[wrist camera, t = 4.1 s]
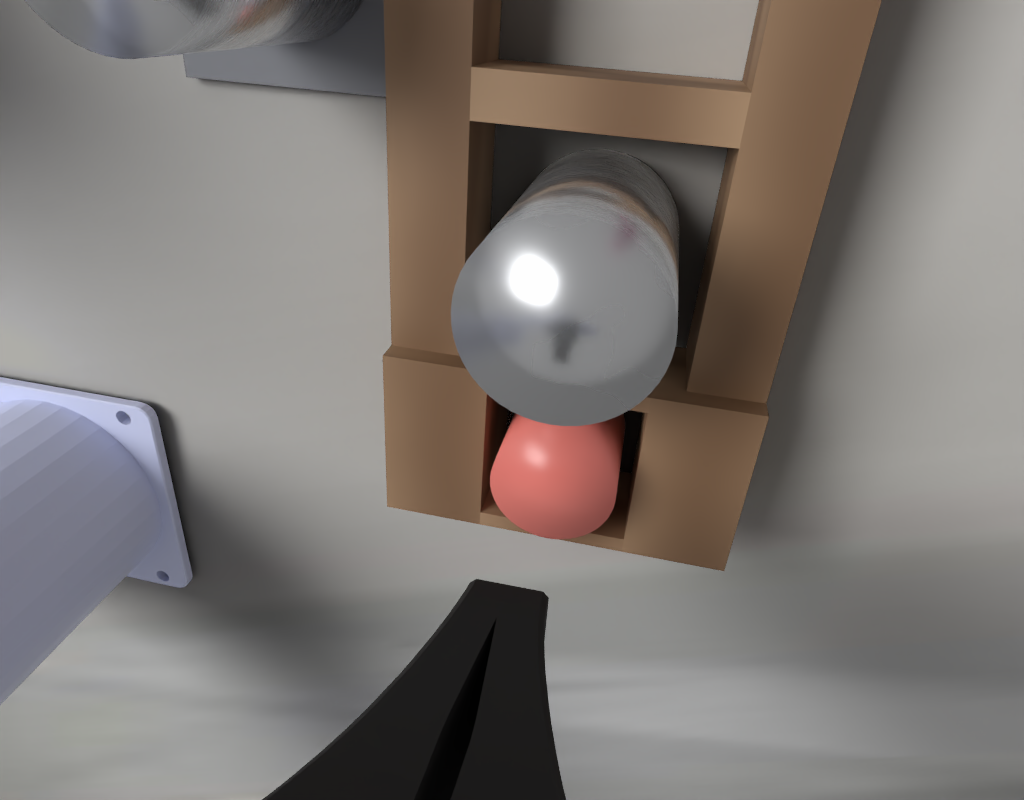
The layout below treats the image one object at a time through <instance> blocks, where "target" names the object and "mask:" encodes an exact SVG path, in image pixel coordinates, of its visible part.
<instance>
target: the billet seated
mask: <svg viewBox="0 0 1024 800" xmlns="http://www.w3.org/2000/svg"><path fill="white" fill-rule="evenodd" d="M678 279H679V218H678V212H677V208H676V205H675V202H674V199H673V197H672V195H671V193H670V191H669V189H668V188H667V186H666V184H665V183H664V181H663V180H662V179H661V178H660V177H659V176H658V174H657V173H656V172H655V171H653V170H652V169H651V168H650V167H649V166H648V165H646V164H645V163H643V162H642V161H640V160H638V159H636V158H634V157H632V156H630V155H628V154H625V153H622V152H619V151H613V150H607V149H591V150H583V151H579V152H575V153H572V154H570V155H567V156H564V157H562V158H561V159H559V160H557V161H555V162H554V163H552V164H551V165H550V166H548V167H547V168H546V169H545V170H544V171H543V172H542V173H541V174H539V175H538V177H537V178H536V179H535V180H534V181H533V182H532V184H531V185H530V186H529V187H528V188H527V189H526V191H525V192H524V193H523V194H522V195H521V197H520V198H519V199H518V200H517V201H516V202H515V204H514V205H513V206H512V207H511V208H510V209H509V211H508V212H507V213H506V214H505V215H504V217H503V218H502V219H501V220H500V221H499V222H498V224H497V225H496V226H495V227H494V228H493V229H492V231H491V232H490V233H489V234H488V235H487V236H486V238H485V239H484V240H483V241H482V242H481V244H480V245H479V246H478V247H477V248H476V249H475V251H474V252H473V253H472V255H471V256H470V257H469V258H468V260H467V261H466V263H465V265H464V267H463V268H462V270H461V272H460V274H459V277H458V279H457V282H456V284H455V288H454V292H453V296H452V304H451V326H452V332H453V338H454V341H455V344H456V348H457V351H458V353H459V355H460V357H461V360H462V362H463V364H464V366H465V367H466V369H467V370H468V372H469V374H470V375H471V376H472V378H473V379H474V380H475V381H476V383H477V384H478V385H479V386H480V387H481V388H482V389H483V390H484V391H485V392H486V393H487V394H488V395H489V396H490V397H491V398H493V399H494V400H495V401H496V402H498V403H499V404H500V405H502V406H504V407H505V408H507V409H508V410H510V411H512V412H514V413H516V414H518V415H520V416H522V417H525V418H528V419H531V420H534V421H536V422H541V423H545V424H550V425H558V426H582V425H591V424H595V423H599V422H603V421H606V420H609V419H612V418H615V417H617V416H619V415H621V414H623V413H625V412H627V411H629V410H630V409H632V408H633V407H635V406H636V405H638V404H639V403H640V402H642V401H643V400H644V399H645V398H646V397H647V396H648V395H649V394H650V393H651V392H652V391H653V390H654V389H655V387H656V386H657V385H658V384H659V382H660V381H661V379H662V378H663V376H664V374H665V373H666V371H667V369H668V367H669V364H670V362H671V360H672V357H673V354H674V350H675V346H676V340H677V332H678Z"/></svg>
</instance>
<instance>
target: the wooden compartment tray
mask: <svg viewBox="0 0 1024 800" xmlns="http://www.w3.org/2000/svg"><path fill="white" fill-rule="evenodd" d="M501 1H502V0H384V35H385V79H386V122H387V166H388V209H389V253H390V297H391V340H392V345H391V347H390V348H389V349H388V350H387V351H386V352H385V354H384V355H383V380H384V413H385V446H386V479H387V506H388V507H393V508H398V509H403V510H408V511H414V512H419V513H424V514H429V515H435V516H440V517H445V518H450V519H455V520H461V521H466V522H471V523H476V524H481V525H487V526H492V527H497V528H502V529H507V530H513V531H518V532H523V533H528V534H531V533H529V532H527V531H525V530H523V529H521V528H520V527H518V526H516V525H515V524H514V523H513V522H511V521H510V520H509V519H508V518H507V517H506V516H505V515H504V514H503V513H502V512H501V510H500V509H499V507H498V506H497V504H496V502H495V500H494V498H493V495H492V492H491V487H490V475H491V470H492V466H493V464H494V461H495V459H496V456H497V454H498V452H499V449H500V447H501V444H502V442H503V440H504V437H505V435H506V429H507V415H508V409H507V408H505V407H504V406H502V405H500V404H499V403H498V402H496V401H495V400H494V399H493V398H491V397H490V396H489V395H488V394H487V393H486V392H485V391H484V390H483V389H482V388H481V387H480V386H479V385H478V384H477V383H476V381H475V380H474V379H473V378H472V376H471V375H470V374H469V372H468V370H467V369H466V367H465V366H464V364H463V362H462V360H461V357H460V355H459V353H458V351H457V348H456V344H455V341H454V338H453V332H452V326H451V304H452V296H453V292H454V288H455V284H456V282H457V279H458V277H459V274H460V272H461V270H462V268H463V267H464V265H465V263H466V261H467V260H468V258H469V257H470V256H471V255H472V253H473V252H474V251H475V249H476V248H477V247H478V246H479V245H480V244H481V242H482V241H483V240H484V239H485V238H486V236H487V235H488V234H489V233H490V220H491V200H492V180H493V160H494V141H495V123H497V124H506V125H516V126H526V127H535V128H545V129H555V130H564V131H574V132H583V133H593V134H603V135H612V136H622V137H631V138H641V139H651V140H660V141H670V142H679V143H689V144H699V145H708V146H718V147H727V148H728V151H727V156H726V161H725V166H724V170H723V175H722V180H721V185H720V189H719V194H718V199H717V204H716V208H715V213H714V218H713V223H712V227H711V232H710V237H709V242H708V247H707V251H706V256H705V261H704V266H703V270H702V275H701V280H700V285H699V289H698V294H697V299H696V304H695V308H694V313H693V318H692V323H691V327H690V332H689V337H688V342H687V346H686V348H681V347H675V350H674V354H673V357H672V360H671V362H670V364H669V367H668V369H667V371H666V373H665V374H664V376H663V378H662V379H661V381H660V382H659V384H658V385H657V386H656V387H655V389H654V390H653V391H652V392H651V393H650V394H649V395H648V396H647V397H646V398H645V399H644V400H643V401H642V402H640V403H639V404H638V405H636V406H635V407H633V408H632V409H630V410H632V411H638V412H643V413H642V418H641V424H640V429H639V435H638V440H637V445H636V451H635V456H634V462H633V467H632V472H631V473H627V472H622V471H620V472H619V479H618V487H617V494H616V501H615V505H614V508H613V510H612V512H611V514H610V516H609V517H608V519H607V520H606V521H605V522H604V523H603V524H602V525H601V526H600V527H599V528H597V529H596V530H594V531H592V532H591V533H588V534H586V535H584V536H580V537H577V538H571V539H560V540H565V541H570V542H575V543H580V544H586V545H591V546H596V547H601V548H606V549H612V550H617V551H622V552H627V553H632V554H638V555H643V556H648V557H653V558H659V559H664V560H669V561H674V562H679V563H685V564H690V565H695V566H700V567H705V568H711V569H716V570H721V571H724V569H725V566H726V563H727V559H728V556H729V552H730V549H731V545H732V542H733V539H734V535H735V532H736V528H737V525H738V521H739V518H740V515H741V511H742V508H743V504H744V501H745V497H746V494H747V491H748V487H749V484H750V480H751V477H752V473H753V470H754V467H755V463H756V460H757V456H758V453H759V449H760V446H761V443H762V439H763V436H764V432H765V429H766V425H767V422H768V419H769V414H768V409H767V405H766V403H767V400H768V396H769V393H770V389H771V386H772V382H773V379H774V375H775V372H776V368H777V365H778V361H779V358H780V354H781V351H782V347H783V344H784V340H785V337H786V333H787V330H788V326H789V323H790V319H791V316H792V312H793V309H794V305H795V302H796V298H797V295H798V291H799V288H800V284H801V281H802V277H803V274H804V270H805V267H806V263H807V260H808V256H809V253H810V249H811V246H812V242H813V239H814V235H815V232H816V228H817V225H818V221H819V218H820V214H821V211H822V207H823V204H824V200H825V197H826V193H827V190H828V186H829V183H830V179H831V176H832V172H833V169H834V165H835V162H836V158H837V155H838V151H839V148H840V144H841V141H842V137H843V134H844V131H845V127H846V124H847V120H848V117H849V113H850V110H851V106H852V103H853V99H854V96H855V92H856V89H857V85H858V82H859V78H860V75H861V71H862V68H863V64H864V61H865V57H866V54H867V50H868V47H869V43H870V40H871V36H872V33H873V29H874V26H875V22H876V19H877V15H878V12H879V8H880V5H881V1H882V0H759V4H758V9H757V13H756V18H755V23H754V28H753V32H752V37H751V42H750V47H749V51H748V56H747V61H746V66H745V70H744V75H743V80H742V81H736V80H725V79H714V78H703V77H692V76H681V75H670V74H659V73H648V72H636V71H625V70H614V69H603V68H592V67H581V66H570V65H559V64H548V63H536V62H525V61H514V60H503V59H499V41H500V21H501Z"/></svg>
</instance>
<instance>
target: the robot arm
mask: <svg viewBox="0 0 1024 800" xmlns="http://www.w3.org/2000/svg"><path fill="white" fill-rule="evenodd" d="M126 413H127V414H128V415H129V416H128V415H126ZM126 576H127V577H132V578H136V579H141V580H145V581H150V582H154V583H159V584H164V585H168V586H173V587H178V588H183V587H186V586H187V584H188V583H189V582H190V581H191V580H192V570H191V566H190V561H189V557H188V552H187V548H186V543H185V539H184V534H183V530H182V525H181V520H180V516H179V511H178V507H177V502H176V498H175V493H174V489H173V484H172V480H171V475H170V471H169V466H168V461H167V457H166V452H165V448H164V443H163V439H162V434H161V430H160V425H159V421H158V417H157V414H156V412H155V411H154V410H153V408H152V407H150V406H149V405H148V404H145V403H142V402H138V401H132V400H127V399H121V398H115V397H110V396H104V395H99V394H93V393H87V392H82V391H76V390H71V389H65V388H59V387H54V386H48V385H42V384H37V383H31V382H26V381H20V380H14V379H9V378H3V377H0V705H1V704H2V703H3V702H4V701H5V700H6V699H7V698H8V697H9V696H10V695H11V694H12V693H13V692H14V691H15V689H16V688H17V687H18V686H19V685H20V684H21V683H22V682H23V681H24V680H25V679H26V678H27V677H28V676H29V675H30V674H31V673H32V672H33V671H34V670H35V669H36V668H37V667H38V666H39V665H40V664H41V663H42V662H43V661H44V660H45V659H46V658H47V657H48V656H49V655H50V654H51V653H52V652H53V651H54V650H55V649H56V647H57V646H58V645H59V644H60V643H61V642H62V641H63V640H64V639H65V638H66V637H67V636H68V635H69V634H70V633H71V632H72V631H73V630H74V629H75V628H76V627H77V626H78V625H79V624H80V623H81V622H82V621H83V620H84V619H85V618H86V617H87V616H88V615H89V614H90V613H91V612H92V611H93V610H94V609H95V608H96V607H97V606H98V604H99V603H100V602H101V601H102V600H103V599H104V598H105V597H106V596H107V595H108V594H109V593H110V592H111V591H112V590H113V589H114V588H115V587H116V586H117V585H118V584H119V583H120V582H121V581H122V580H123V579H124V578H125V577H126ZM548 599H549V598H548V597H547V596H546V594H545V593H544V592H541V591H536V590H531V589H526V588H521V587H515V586H510V585H505V584H500V583H494V582H489V581H484V580H479V579H476V580H474V581H472V582H470V584H469V585H468V587H467V589H466V590H465V592H464V593H463V595H462V596H461V598H460V599H459V601H458V602H457V604H456V605H455V606H454V608H453V609H452V611H451V612H450V613H449V615H448V616H447V617H446V619H445V620H444V621H443V623H442V624H441V625H440V626H439V628H438V629H437V630H436V632H435V633H434V634H433V636H432V637H431V638H430V639H429V640H428V642H427V643H426V644H425V645H424V646H423V648H422V649H421V650H420V651H419V652H418V654H417V655H416V656H415V657H414V658H413V659H412V661H411V662H410V663H409V664H408V665H407V667H406V668H405V669H404V670H403V671H402V672H401V673H400V674H399V675H398V677H397V678H396V679H395V680H394V681H393V682H392V683H391V684H390V685H389V686H388V687H387V688H386V689H385V690H384V691H383V693H382V694H381V695H380V696H379V697H378V698H377V699H376V700H375V701H374V702H373V703H372V704H371V705H370V706H369V707H368V708H367V709H366V710H365V711H364V712H363V713H362V714H361V715H360V716H359V717H358V718H357V719H356V720H355V721H354V722H353V723H352V724H351V725H350V726H349V727H348V728H347V729H346V730H345V731H344V732H342V733H341V734H340V735H339V736H338V737H337V738H336V739H335V740H334V741H333V742H331V743H330V744H329V745H328V746H327V747H326V748H325V749H324V750H323V751H321V752H320V753H319V754H318V755H317V756H316V757H314V758H313V759H312V760H311V761H310V762H308V763H307V764H306V765H305V766H304V767H302V768H301V769H300V770H299V771H298V772H297V773H295V774H294V775H293V776H292V777H291V778H289V779H288V780H287V781H286V782H284V783H283V784H282V785H281V786H279V787H278V788H277V789H276V790H274V791H273V792H272V793H270V794H269V795H268V796H266V797H265V798H264V799H262V800H566V798H565V794H564V789H563V785H562V780H561V775H560V771H559V766H558V760H557V755H556V750H555V744H554V738H553V731H552V725H551V718H550V711H549V703H548V693H547V684H546V674H545V658H544V638H545V628H546V619H547V609H548Z"/></svg>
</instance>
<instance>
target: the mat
mask: <svg viewBox="0 0 1024 800" xmlns="http://www.w3.org/2000/svg"><path fill="white" fill-rule="evenodd" d="M183 58H184V65H185V71H186V77H192V78H201V79H211V80H221V81H231V82H241V83H251V84H261V85H271V86H281V87H291V88H301V89H311V90H321V91H330V92H340V93H350V94H360V95H370V96H380V97H386V79H385V35H384V0H363V1H362V3H361V5H360V7H359V9H358V10H357V11H356V13H355V14H354V15H353V17H352V18H351V19H350V20H349V21H348V22H347V23H346V24H345V25H344V26H343V27H342V28H341V29H339V30H338V31H337V32H335V33H333V34H331V35H329V36H328V37H325V38H322V39H319V40H316V41H310V42H301V43H291V44H281V45H270V46H260V47H250V48H240V49H229V50H219V51H209V52H198V53H188V54H183Z"/></svg>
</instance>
